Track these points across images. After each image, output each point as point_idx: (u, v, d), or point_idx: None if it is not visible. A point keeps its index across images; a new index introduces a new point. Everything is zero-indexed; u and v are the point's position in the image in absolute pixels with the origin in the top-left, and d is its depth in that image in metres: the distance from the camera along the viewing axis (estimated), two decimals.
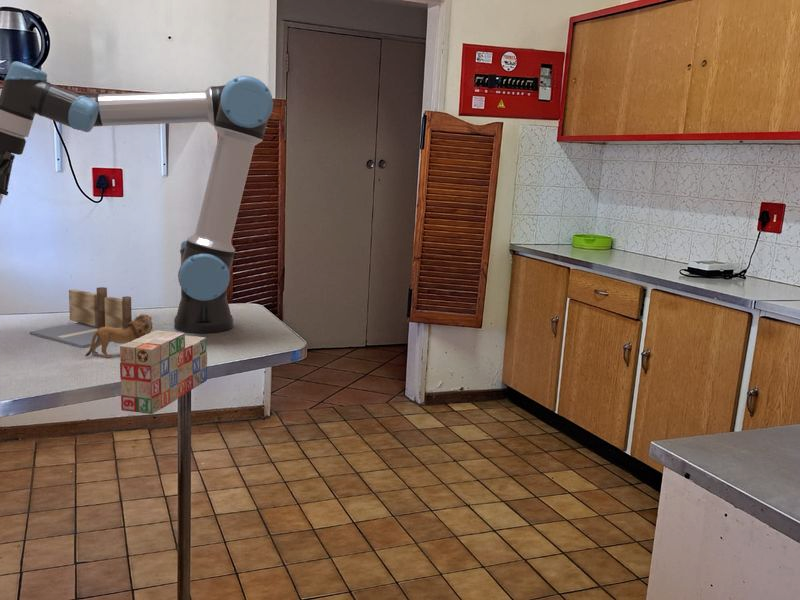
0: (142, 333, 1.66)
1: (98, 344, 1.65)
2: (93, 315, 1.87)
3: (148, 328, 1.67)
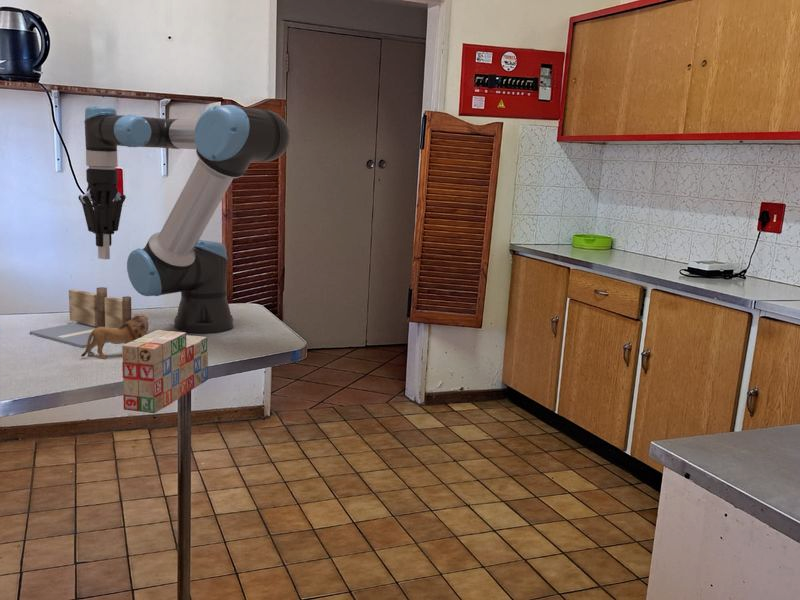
0: (138, 334, 1.66)
1: (94, 344, 1.65)
2: (93, 315, 1.87)
3: (144, 328, 1.67)
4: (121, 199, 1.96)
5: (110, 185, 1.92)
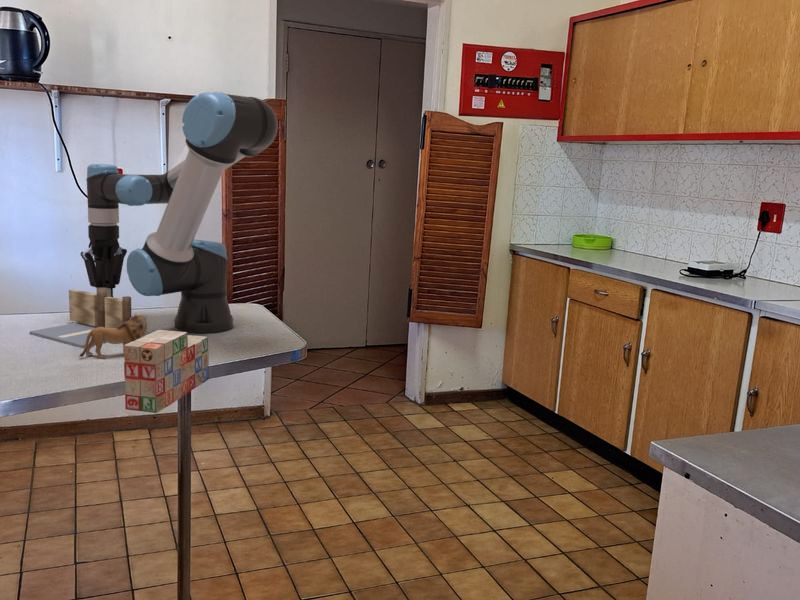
0: (137, 334, 1.66)
1: (92, 344, 1.65)
2: (93, 315, 1.87)
3: (142, 328, 1.67)
4: (122, 253, 1.99)
5: (112, 240, 1.95)
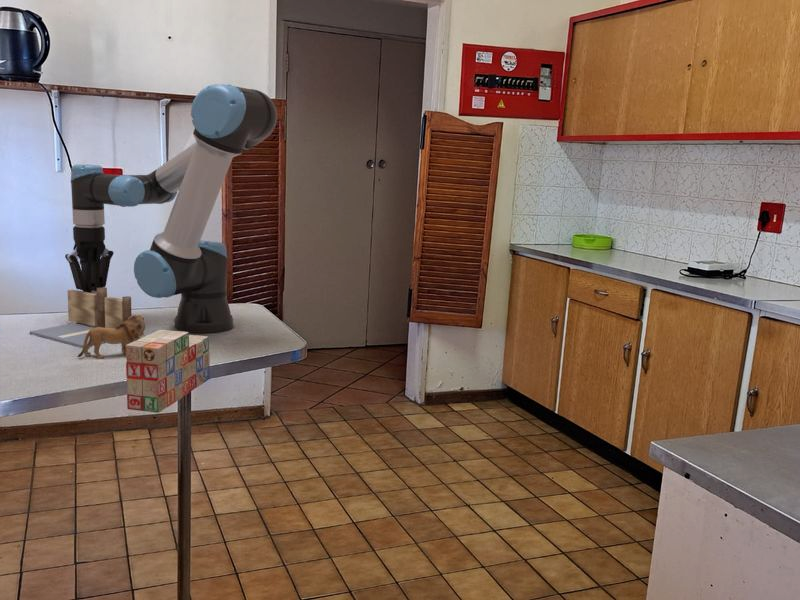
0: (135, 334, 1.66)
1: (90, 345, 1.64)
2: (93, 315, 1.87)
3: (141, 328, 1.67)
4: (109, 255, 1.95)
5: (97, 242, 1.91)
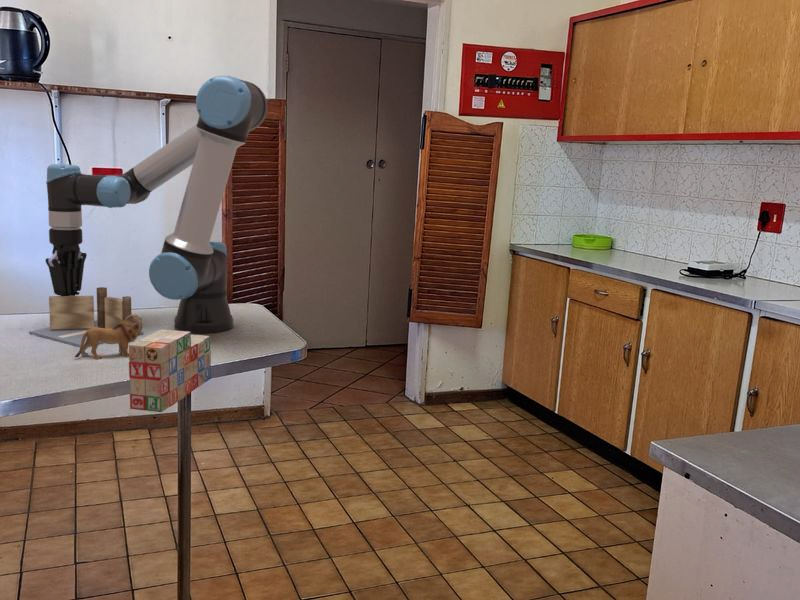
0: (133, 334, 1.65)
1: (88, 345, 1.64)
2: (91, 317, 1.85)
3: (138, 328, 1.67)
4: (83, 257, 1.89)
5: (74, 244, 1.85)
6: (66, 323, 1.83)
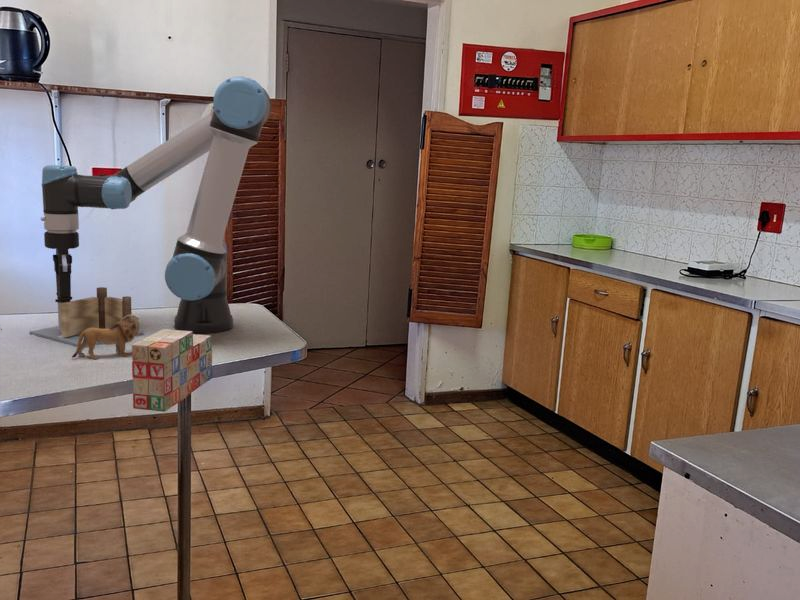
0: (130, 334, 1.65)
1: (84, 345, 1.64)
2: (97, 318, 1.84)
3: (135, 328, 1.66)
4: None
5: None
6: (78, 328, 1.79)
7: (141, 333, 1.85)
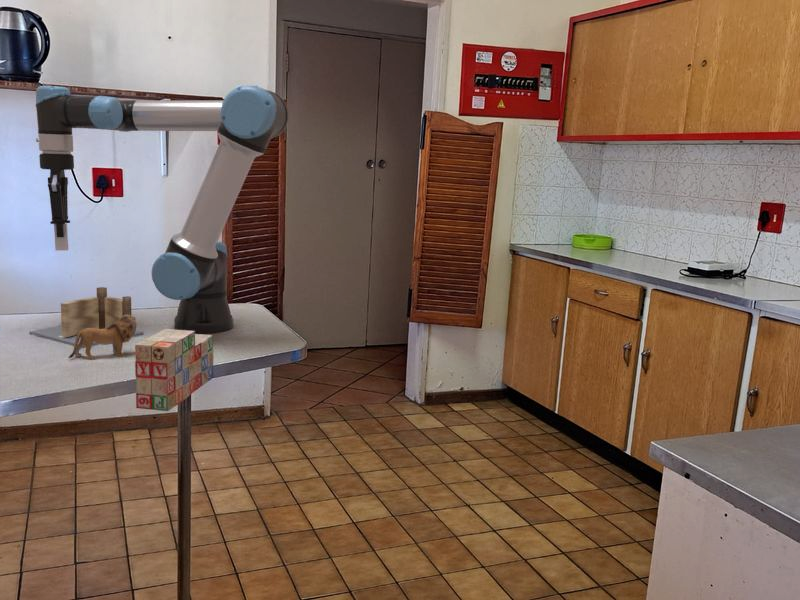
0: (127, 334, 1.65)
1: (81, 345, 1.64)
2: (97, 318, 1.84)
3: (132, 328, 1.66)
4: (66, 185, 1.85)
5: (63, 171, 1.81)
6: (79, 328, 1.79)
7: (141, 333, 1.85)
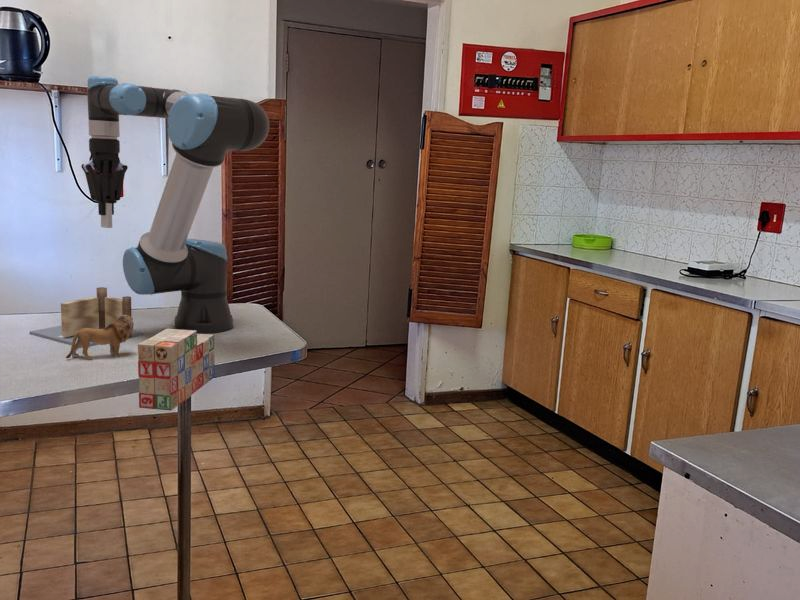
0: (124, 334, 1.65)
1: (78, 346, 1.63)
2: (97, 318, 1.84)
3: (129, 329, 1.66)
4: (123, 169, 2.00)
5: (112, 155, 1.96)
6: (79, 328, 1.79)
7: (141, 333, 1.85)
